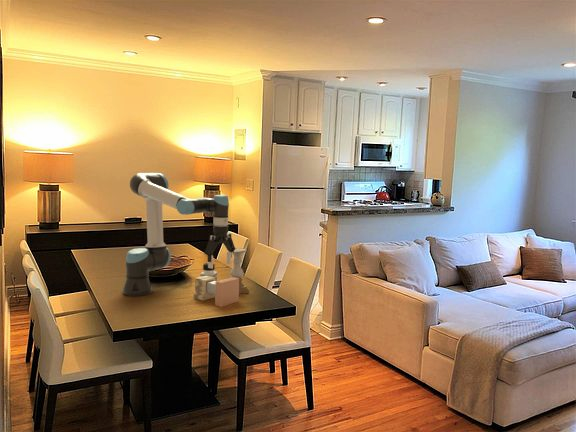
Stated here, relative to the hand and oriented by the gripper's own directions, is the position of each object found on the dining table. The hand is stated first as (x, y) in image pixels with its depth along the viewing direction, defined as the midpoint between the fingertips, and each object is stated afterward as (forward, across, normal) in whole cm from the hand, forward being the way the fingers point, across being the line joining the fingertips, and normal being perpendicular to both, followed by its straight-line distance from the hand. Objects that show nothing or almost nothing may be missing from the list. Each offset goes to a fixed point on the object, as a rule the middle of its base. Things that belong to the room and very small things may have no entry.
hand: (219, 266), depth 255 cm
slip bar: (+14, 0, +2) cm, 14 cm away
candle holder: (+19, +20, +6) cm, 28 cm away
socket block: (+19, 0, -6) cm, 20 cm away
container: (+19, +19, +27) cm, 38 cm away
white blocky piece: (+19, 0, +10) cm, 21 cm away
